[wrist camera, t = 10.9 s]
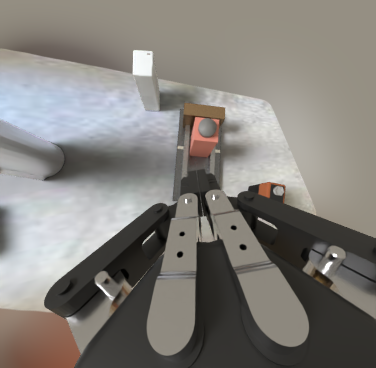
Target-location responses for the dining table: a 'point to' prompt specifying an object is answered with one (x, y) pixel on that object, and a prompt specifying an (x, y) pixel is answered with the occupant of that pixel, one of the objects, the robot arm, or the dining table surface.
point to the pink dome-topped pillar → (204, 136)
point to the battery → (270, 191)
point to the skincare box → (146, 79)
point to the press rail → (184, 138)
